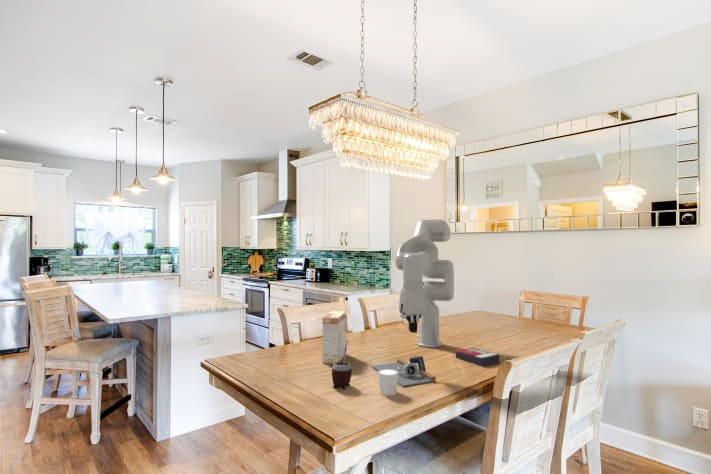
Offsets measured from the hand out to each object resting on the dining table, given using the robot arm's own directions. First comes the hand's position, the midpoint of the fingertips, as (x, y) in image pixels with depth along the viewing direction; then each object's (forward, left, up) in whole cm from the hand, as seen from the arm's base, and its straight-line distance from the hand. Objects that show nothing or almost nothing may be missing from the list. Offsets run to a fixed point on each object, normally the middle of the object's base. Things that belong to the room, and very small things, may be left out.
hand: (413, 331), depth 153 cm
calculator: (-2, +34, -16) cm, 38 cm away
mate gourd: (+3, -31, -16) cm, 35 cm away
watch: (+1, +3, -12) cm, 13 cm away
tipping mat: (+1, -5, -16) cm, 17 cm away
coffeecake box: (-29, -21, -16) cm, 40 cm away
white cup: (+14, -19, -16) cm, 29 cm away
